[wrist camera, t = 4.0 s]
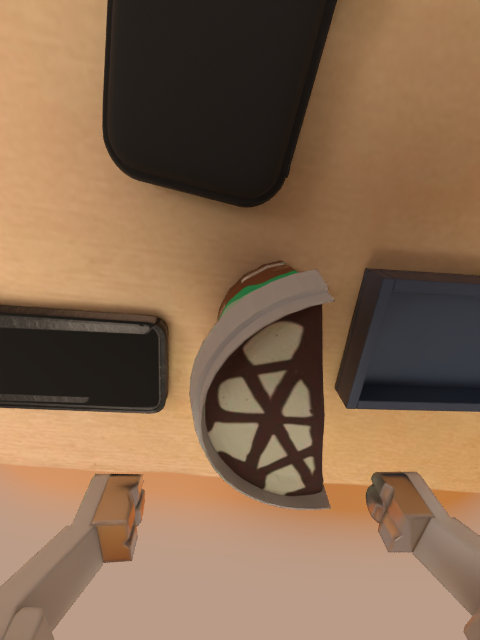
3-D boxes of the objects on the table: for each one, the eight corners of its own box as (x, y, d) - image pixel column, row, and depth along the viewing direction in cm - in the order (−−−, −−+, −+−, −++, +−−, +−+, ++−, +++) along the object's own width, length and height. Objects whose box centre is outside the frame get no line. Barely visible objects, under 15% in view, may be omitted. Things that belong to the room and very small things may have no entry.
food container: (185, 250, 19) (151, 308, 10) (280, 237, 19) (335, 284, 10) (214, 400, 24) (210, 531, 15) (289, 390, 24) (330, 515, 15)
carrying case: (287, 218, 18) (389, -133, 13) (298, 223, 16) (436, -223, 10) (111, 172, 17) (136, -252, 11) (89, 169, 14) (108, -399, 8)
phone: (-82, 306, 18) (165, 323, 19) (-66, 300, 19) (168, 317, 20) (-45, 407, 21) (165, 415, 23) (-33, 397, 22) (167, 405, 24)
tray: (576, 281, 21) (618, 293, 19) (513, 393, 25) (541, 413, 23) (365, 267, 20) (383, 278, 18) (334, 388, 24) (346, 409, 22)
